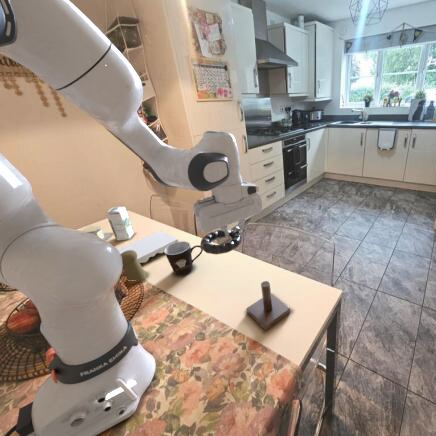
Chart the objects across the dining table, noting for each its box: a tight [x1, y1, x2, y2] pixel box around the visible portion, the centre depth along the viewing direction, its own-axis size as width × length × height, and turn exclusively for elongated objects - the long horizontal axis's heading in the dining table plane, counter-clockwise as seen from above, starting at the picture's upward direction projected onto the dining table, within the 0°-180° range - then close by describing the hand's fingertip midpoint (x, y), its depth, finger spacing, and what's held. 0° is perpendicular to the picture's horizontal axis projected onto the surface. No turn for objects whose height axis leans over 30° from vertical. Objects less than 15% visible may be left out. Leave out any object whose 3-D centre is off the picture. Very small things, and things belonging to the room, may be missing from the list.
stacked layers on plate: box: [82, 225, 112, 241], centre depth 113 cm, size 10×9×6 cm
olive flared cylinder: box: [121, 250, 147, 285], centre depth 85 cm, size 6×6×11 cm
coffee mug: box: [163, 240, 204, 277], centre depth 88 cm, size 12×9×10 cm
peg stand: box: [246, 280, 291, 331], centre depth 69 cm, size 9×9×10 cm
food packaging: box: [116, 230, 179, 264], centre depth 102 cm, size 15×3×20 cm
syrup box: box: [105, 206, 135, 241], centre depth 112 cm, size 6×6×14 cm
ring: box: [199, 228, 242, 255], centre depth 72 cm, size 12×12×3 cm
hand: (234, 234), depth 74 cm, fingers closed on ring, 2 cm apart
